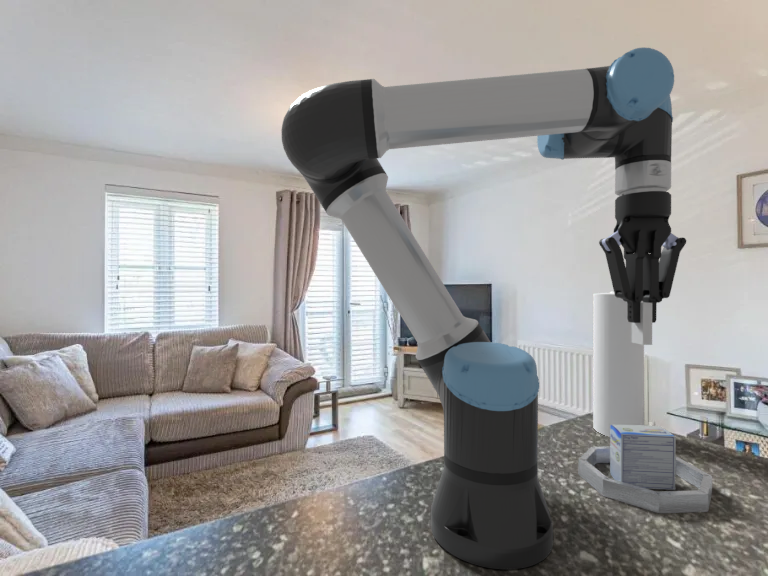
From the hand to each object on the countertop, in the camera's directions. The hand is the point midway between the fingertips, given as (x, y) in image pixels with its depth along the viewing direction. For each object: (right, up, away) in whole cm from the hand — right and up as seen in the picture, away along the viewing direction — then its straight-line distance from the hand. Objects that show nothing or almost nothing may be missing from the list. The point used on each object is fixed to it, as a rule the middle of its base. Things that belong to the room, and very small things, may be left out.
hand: (641, 343), depth 65 cm
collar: (0, -22, 0) cm, 22 cm away
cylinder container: (+9, -22, +23) cm, 33 cm away
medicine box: (0, -23, 0) cm, 23 cm away
